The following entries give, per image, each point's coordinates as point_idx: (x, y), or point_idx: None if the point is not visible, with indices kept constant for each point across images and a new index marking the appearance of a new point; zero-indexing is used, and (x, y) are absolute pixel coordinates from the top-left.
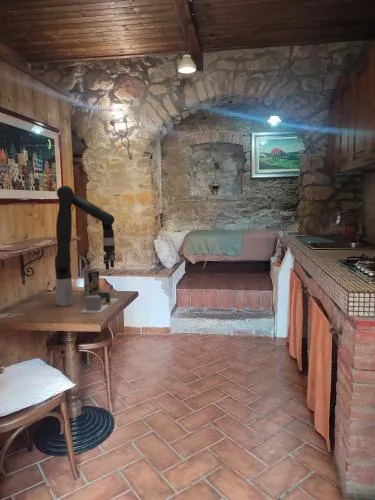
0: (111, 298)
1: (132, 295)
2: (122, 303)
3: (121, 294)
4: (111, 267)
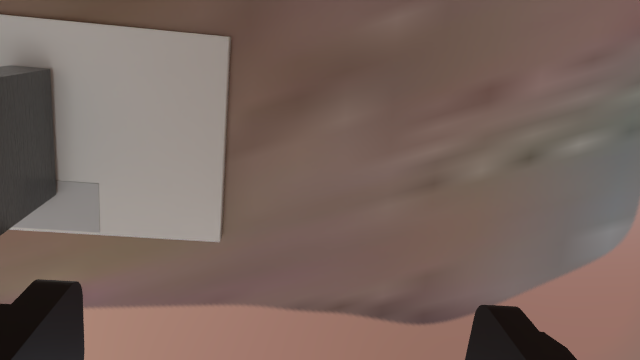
0: (223, 157)
1: (419, 314)
2: (92, 302)
3: (474, 192)
4: (473, 324)
